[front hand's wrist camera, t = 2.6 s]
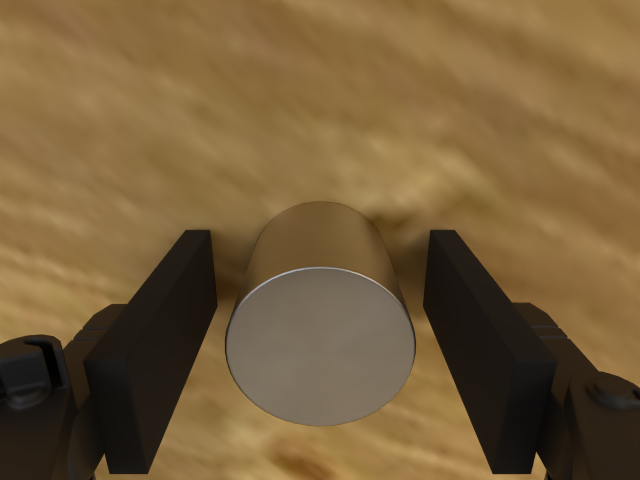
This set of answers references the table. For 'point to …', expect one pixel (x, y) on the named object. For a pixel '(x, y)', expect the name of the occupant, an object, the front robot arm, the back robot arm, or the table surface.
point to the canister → (320, 319)
